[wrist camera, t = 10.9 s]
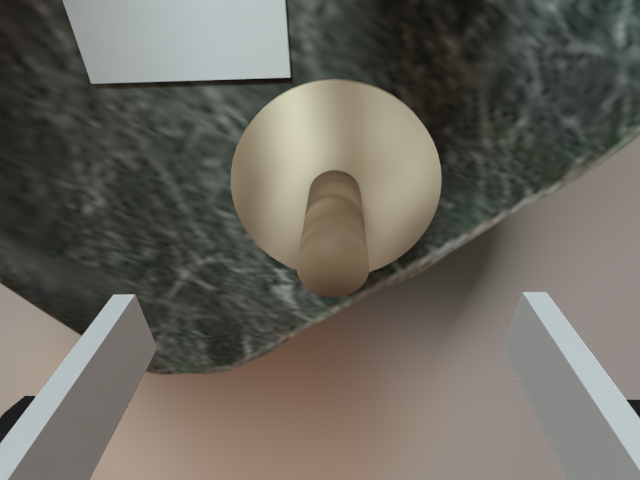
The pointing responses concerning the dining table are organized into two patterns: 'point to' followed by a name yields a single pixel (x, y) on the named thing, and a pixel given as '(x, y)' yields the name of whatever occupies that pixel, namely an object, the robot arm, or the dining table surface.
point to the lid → (335, 181)
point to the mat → (181, 39)
